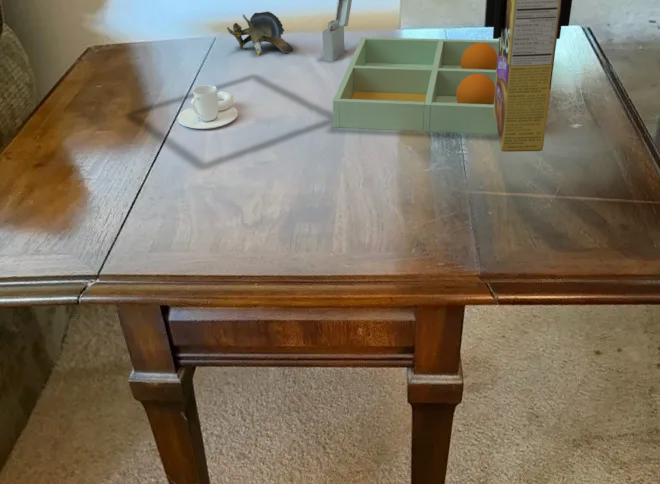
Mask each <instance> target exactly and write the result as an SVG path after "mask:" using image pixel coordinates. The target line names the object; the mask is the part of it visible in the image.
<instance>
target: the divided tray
mask: <svg viewBox="0 0 660 484" xmlns="http://www.w3.org/2000/svg"><path fill="white" fill-rule="evenodd" d="M498 42H499V40H498V39H493V40H491V39H488V40H487V39H453V38H451V39H450V38H447V39H446V38H445V39H444V38H413V37H411V38H410V37H408V38H407V37H374V36H373V37H371V36H370V37H366V36H364V37H363V36H361V37H360V40H359V41H358V44H357V46H356V48H355V51H354V52H353V54H352V56H351V59H350V60H349V61H350V62H349V64H348V66H347V68H346V70H345V72H344V75H343V77H342V80H341V81H340V83H339V86H338V88H337V91H336V93H335V96H334V98H333V99H332V121H333V122H332V123H333V129H354V130H376V131H378V130H379V131H399V132H400V131H401V132H417V133H418V132H419V133H420V132H421V133H439V134H440V133H442V134H443V133H444V134H445V133H446V134H461V135H463V134H464V135H465V134H466V135H484V136H487V135H488V136H499V135H498V130H497V125H496V120H495V117H494V104H493V105H490V104H464V103H457V99H456V92H457V88H458V86H459V84H460V83H461V81H462V80H463V79H464V78H466V77H467V76H469V75H472V74H483V75H486V76H487V77H489V78H490V79H491V80H492V81H493V82H494V84H496V71H497V68H496V70H486V69H462V68H461V58H462V55H463V53H464V52H465V50H466V49H467V48H468V47H470V46H471V45H473V44H476V43H485V44H488V45H490V46H491V47H492V48H493V49H494V50H495V51H496V53H497V56H498Z"/></svg>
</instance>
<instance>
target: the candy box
mask: <svg viewBox="0 0 660 484" xmlns="http://www.w3.org/2000/svg"><path fill="white" fill-rule="evenodd" d="M560 9H561V0H504V8H503V19H502V31H501V37H499V39H498V41H499V42H498V56H497V71H496V84H495V99H494V117H495V120H496V125H497V130H498V135H497V136H498V140H499V147H500V151H501V152H507V153H508V152H510V153H511V152H542V151H544V144H545V143H544V142H545V136H546V128H547V120H548V113H549V112H548V111H549V105H550V97H551V96H550V95H551V88H552V79H553V73H554V72H553V71H554V65H555V56H556V48H557V40H558V39H557V33H558V24H559V17H560Z"/></svg>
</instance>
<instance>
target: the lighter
mask: <svg viewBox="0 0 660 484" xmlns="http://www.w3.org/2000/svg"><path fill="white" fill-rule="evenodd" d="M352 3H353V0H337V2H336V8H335V14H334V15H335V16H334V19H332V20H330V21H329V22H328V23H327V28H326V29H324V30H323V31H322V49H323V50H322V51H323V52H322V53H323V57H322V58H323V61H328V62H334V61H336V60H337V59H338V58H340V57H341V56H343V54H345V27H348V26H349V20H350V15H351V8H352Z"/></svg>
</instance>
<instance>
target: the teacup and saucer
mask: <svg viewBox="0 0 660 484" xmlns="http://www.w3.org/2000/svg"><path fill="white" fill-rule="evenodd" d="M192 95H193V97H192V99H191V101H190V107H187V108H186V109H185V108H184V109H183V110H182V111H181V112H180V113H179V114H178V116H177V121H178V123H179V124H180V125H182V126H184V127H187V128H189V129H199V130H202V129H203V130H206V129H207V130H208V129H215V128H219V127H223V126H225V125H228V124H230V123H232V122H233V121H235V120H236V119H237V117H238V115H239V111H238V110H237V108H235V107H234V106H233V104H234V102H235V98H234V95H233V94H232V93H230V92H229V91H228V92H227V91H218V88H217V87H216V86H215V85H211V84H204V85H199V86H195V87H194V88H193V89H192ZM200 119H201V120H202V121H201V120H200Z"/></svg>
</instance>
